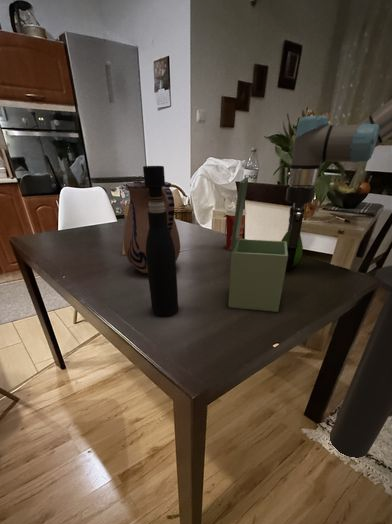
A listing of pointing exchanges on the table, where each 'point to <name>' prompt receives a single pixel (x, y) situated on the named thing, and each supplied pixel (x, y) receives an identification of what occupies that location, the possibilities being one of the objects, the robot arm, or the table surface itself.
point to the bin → (257, 274)
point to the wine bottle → (160, 248)
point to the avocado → (298, 250)
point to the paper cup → (230, 223)
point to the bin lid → (239, 212)
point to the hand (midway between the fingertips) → (287, 265)
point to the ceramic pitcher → (145, 223)
